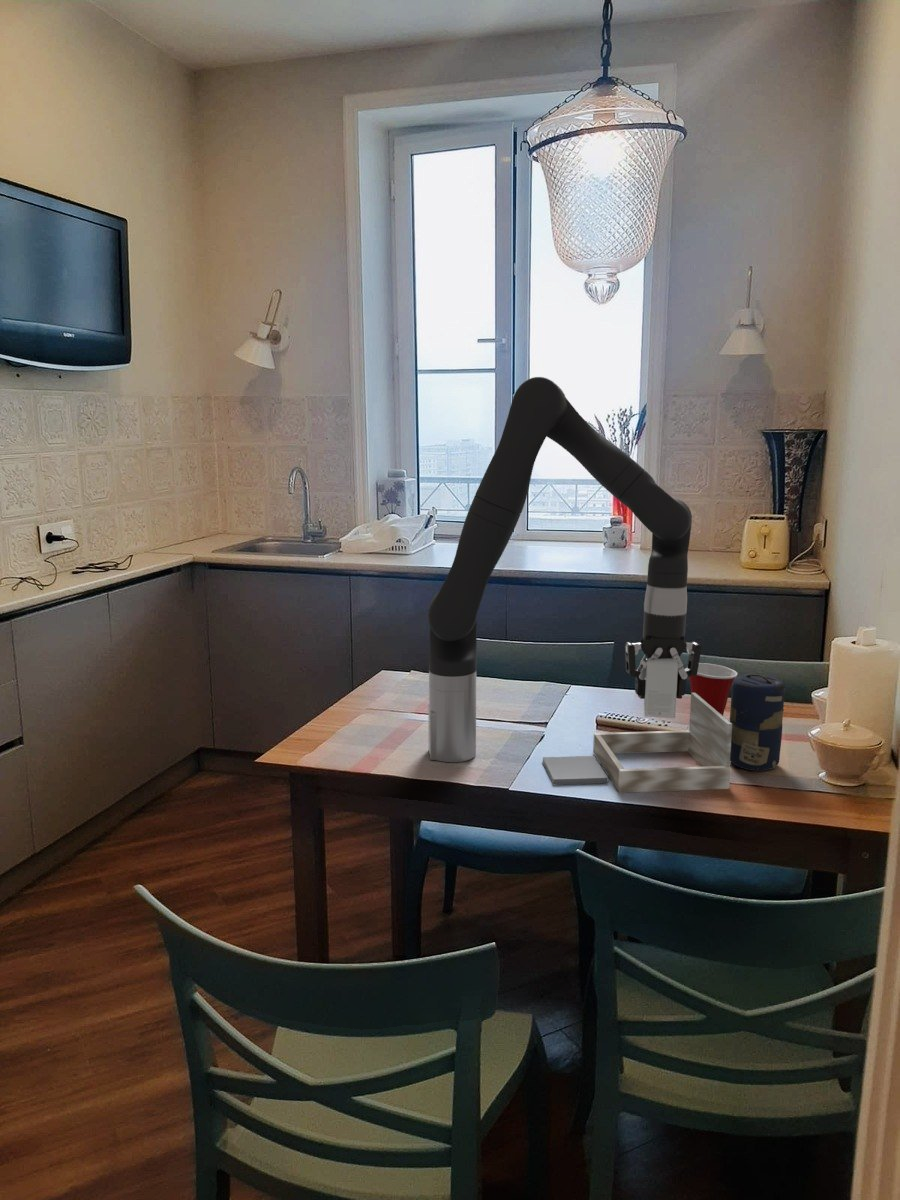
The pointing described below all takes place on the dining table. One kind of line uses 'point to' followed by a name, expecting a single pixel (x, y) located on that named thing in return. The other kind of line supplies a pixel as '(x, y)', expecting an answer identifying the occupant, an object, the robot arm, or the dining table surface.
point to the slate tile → (574, 770)
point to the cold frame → (701, 740)
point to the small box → (661, 688)
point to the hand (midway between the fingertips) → (659, 697)
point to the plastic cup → (713, 684)
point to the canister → (756, 721)
